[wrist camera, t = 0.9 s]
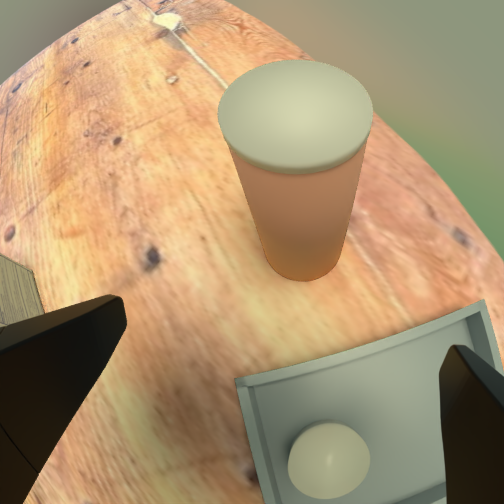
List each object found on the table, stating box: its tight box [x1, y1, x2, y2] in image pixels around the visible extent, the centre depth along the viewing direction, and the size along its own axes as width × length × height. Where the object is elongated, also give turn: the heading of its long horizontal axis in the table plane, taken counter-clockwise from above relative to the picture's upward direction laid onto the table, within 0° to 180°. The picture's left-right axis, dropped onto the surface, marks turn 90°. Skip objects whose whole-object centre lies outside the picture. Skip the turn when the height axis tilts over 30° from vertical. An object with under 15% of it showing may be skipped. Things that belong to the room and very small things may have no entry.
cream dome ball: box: [288, 419, 370, 499], centre depth 15 cm, size 4×4×3 cm
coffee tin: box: [218, 60, 373, 281], centre depth 17 cm, size 6×6×13 cm
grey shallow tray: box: [235, 299, 504, 504], centre depth 16 cm, size 16×12×3 cm
